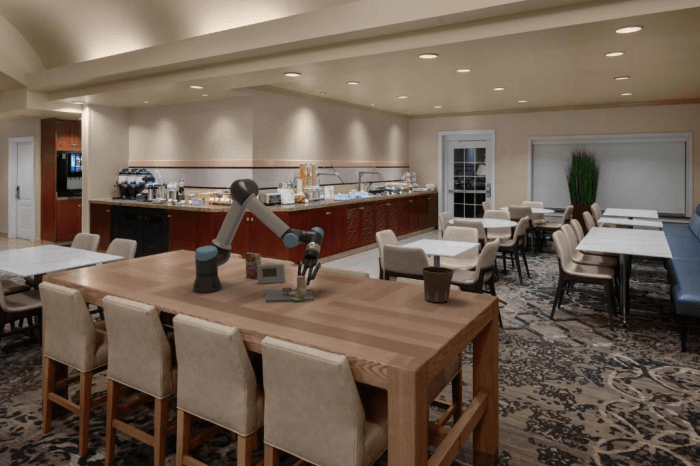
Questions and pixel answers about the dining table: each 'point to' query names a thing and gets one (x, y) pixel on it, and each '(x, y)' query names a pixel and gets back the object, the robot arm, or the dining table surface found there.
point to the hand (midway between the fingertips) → (302, 290)
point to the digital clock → (271, 273)
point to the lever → (300, 288)
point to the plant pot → (437, 283)
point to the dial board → (286, 296)
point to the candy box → (252, 264)
